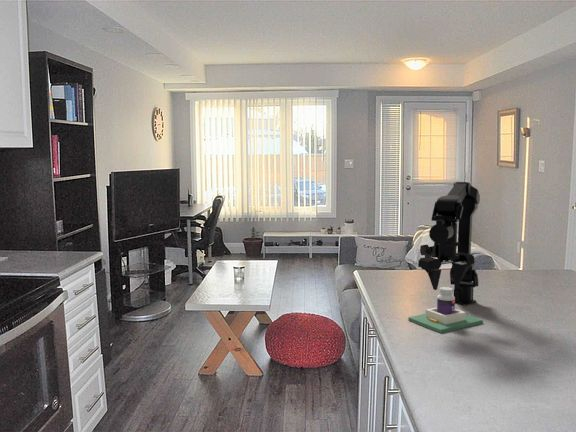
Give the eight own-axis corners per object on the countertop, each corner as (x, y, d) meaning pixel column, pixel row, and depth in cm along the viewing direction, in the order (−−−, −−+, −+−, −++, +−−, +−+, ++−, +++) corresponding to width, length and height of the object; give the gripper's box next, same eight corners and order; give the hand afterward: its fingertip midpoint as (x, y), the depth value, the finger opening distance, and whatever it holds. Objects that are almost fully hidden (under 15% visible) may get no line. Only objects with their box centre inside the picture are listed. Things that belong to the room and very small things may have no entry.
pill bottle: (455, 321, 168) (456, 291, 167) (437, 320, 169) (438, 290, 168) (453, 316, 174) (454, 286, 172) (436, 315, 175) (436, 285, 173)
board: (449, 311, 182) (449, 301, 181) (482, 323, 170) (483, 312, 169) (408, 320, 173) (408, 309, 173) (440, 333, 161) (440, 321, 161)
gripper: (449, 232, 180) (448, 279, 181) (406, 237, 171) (405, 286, 172) (476, 237, 170) (474, 286, 172) (432, 242, 161) (430, 294, 163)
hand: (445, 287), depth 170 cm, fingers open, 9 cm apart
